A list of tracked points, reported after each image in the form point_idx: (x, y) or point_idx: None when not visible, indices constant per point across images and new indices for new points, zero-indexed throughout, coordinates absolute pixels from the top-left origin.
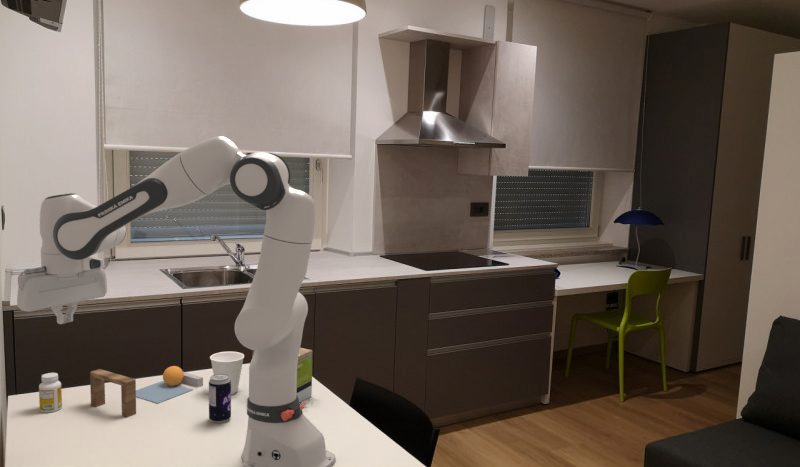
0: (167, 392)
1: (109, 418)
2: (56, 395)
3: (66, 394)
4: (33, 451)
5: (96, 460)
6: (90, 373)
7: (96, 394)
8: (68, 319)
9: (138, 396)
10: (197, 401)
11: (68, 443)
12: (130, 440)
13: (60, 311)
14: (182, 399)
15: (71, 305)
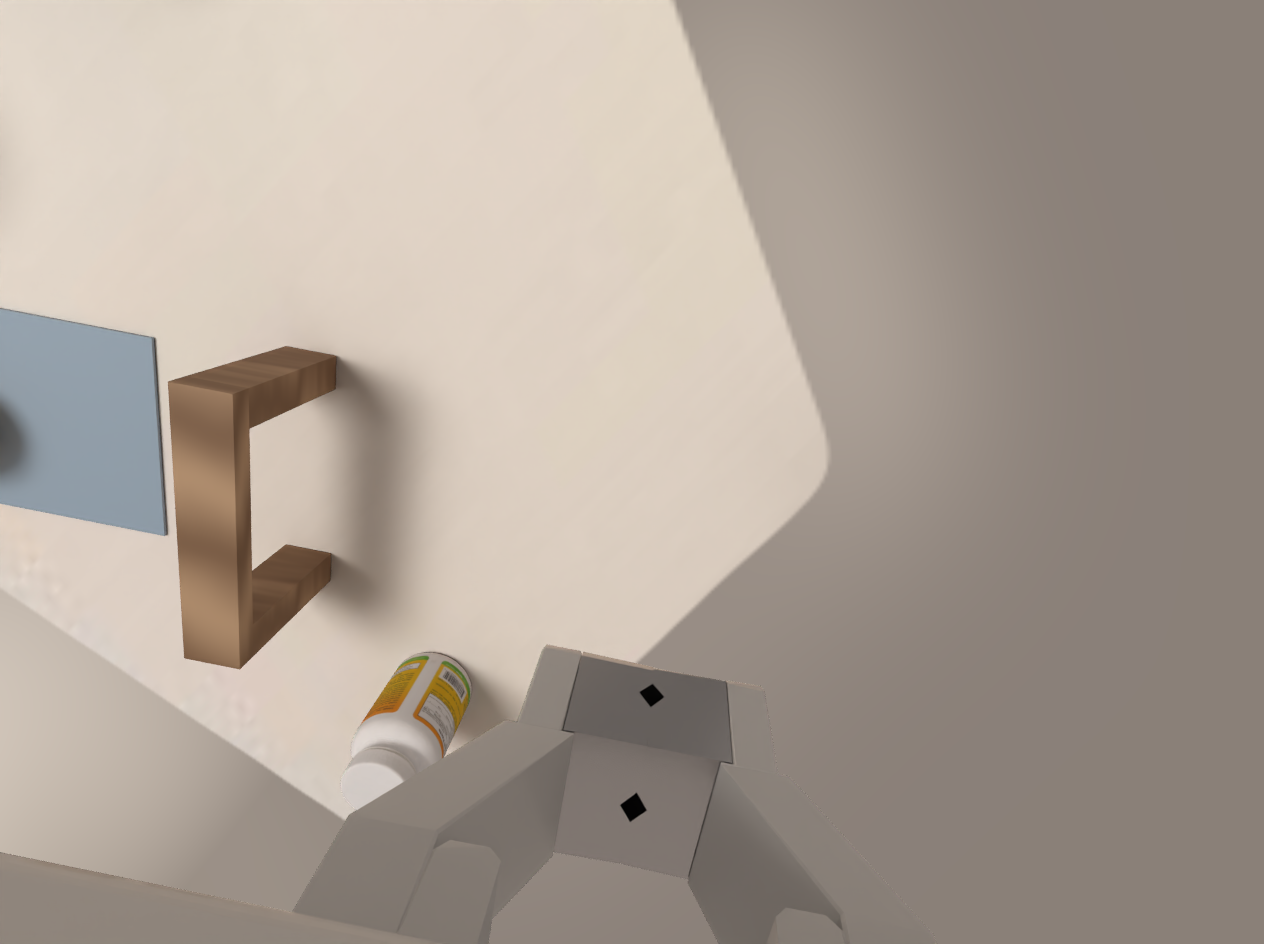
0: (43, 383)
1: (381, 418)
2: (412, 692)
3: (308, 733)
4: (748, 457)
5: (722, 142)
6: (244, 661)
7: (296, 577)
8: (627, 687)
9: (155, 469)
10: (15, 172)
11: (639, 388)
12: (503, 152)
13: (829, 879)
14: (48, 263)
15: (483, 918)
